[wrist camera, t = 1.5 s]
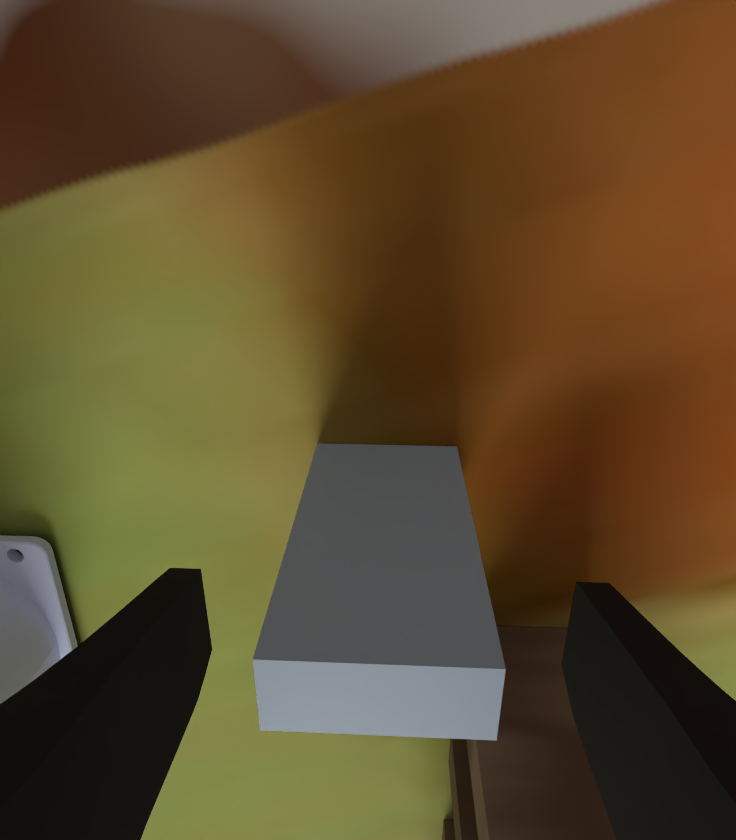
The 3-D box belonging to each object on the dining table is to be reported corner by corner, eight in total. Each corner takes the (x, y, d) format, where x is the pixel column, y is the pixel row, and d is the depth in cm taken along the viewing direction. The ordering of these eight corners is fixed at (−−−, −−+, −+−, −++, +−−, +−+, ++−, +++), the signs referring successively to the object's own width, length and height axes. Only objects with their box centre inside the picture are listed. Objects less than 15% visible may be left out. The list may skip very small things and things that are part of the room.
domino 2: (456, 660, 19) (492, 956, 12) (460, 624, 19) (499, 912, 11) (576, 665, 19) (685, 967, 12) (583, 628, 19) (703, 924, 11)
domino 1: (319, 491, 17) (260, 730, 10) (317, 443, 16) (252, 659, 9) (453, 495, 17) (496, 741, 10) (456, 446, 16) (505, 669, 9)
